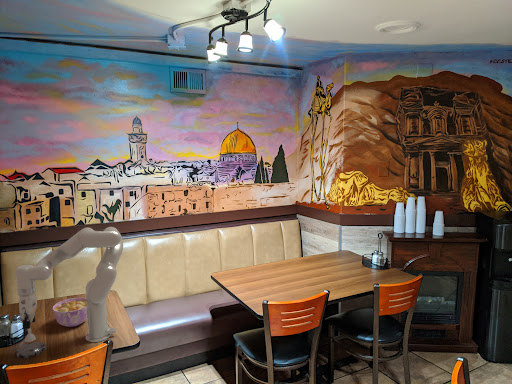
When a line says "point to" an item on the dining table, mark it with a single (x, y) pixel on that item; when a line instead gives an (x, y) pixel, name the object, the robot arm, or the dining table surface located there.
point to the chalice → (30, 336)
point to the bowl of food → (71, 311)
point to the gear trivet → (31, 349)
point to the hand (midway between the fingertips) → (29, 325)
